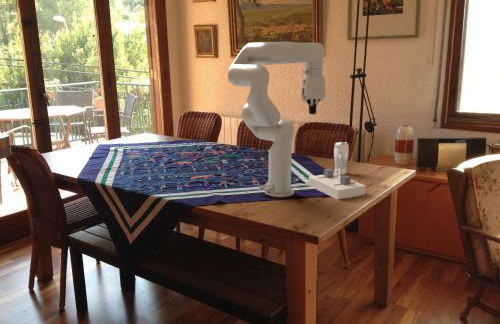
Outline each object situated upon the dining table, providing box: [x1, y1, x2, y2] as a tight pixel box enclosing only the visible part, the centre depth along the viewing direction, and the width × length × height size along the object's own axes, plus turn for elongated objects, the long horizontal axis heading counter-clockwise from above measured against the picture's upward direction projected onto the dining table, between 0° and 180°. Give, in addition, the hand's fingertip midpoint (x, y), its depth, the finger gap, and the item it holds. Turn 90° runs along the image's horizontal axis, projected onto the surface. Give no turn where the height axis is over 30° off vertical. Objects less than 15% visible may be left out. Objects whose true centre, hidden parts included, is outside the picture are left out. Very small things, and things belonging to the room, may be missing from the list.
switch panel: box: [307, 173, 367, 200], centre depth 198 cm, size 14×22×4 cm, turn 26°
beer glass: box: [333, 141, 350, 176], centre depth 222 cm, size 7×7×15 cm
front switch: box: [340, 174, 352, 185], centre depth 193 cm, size 3×3×3 cm
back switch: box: [323, 168, 335, 177], centre depth 204 cm, size 3×3×3 cm
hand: (312, 113), depth 205 cm, fingers closed
